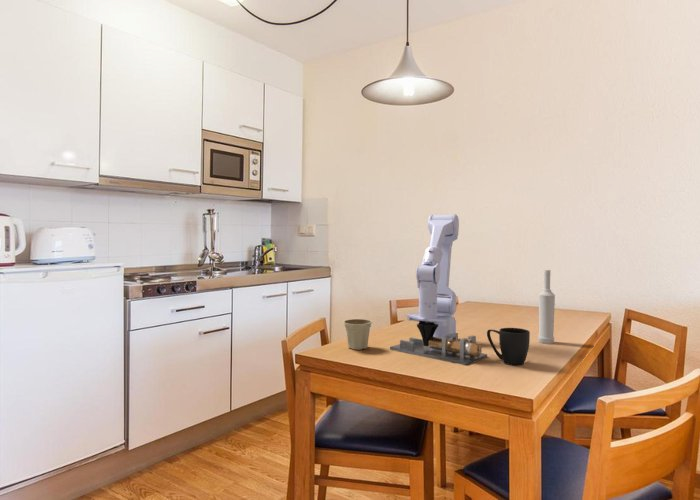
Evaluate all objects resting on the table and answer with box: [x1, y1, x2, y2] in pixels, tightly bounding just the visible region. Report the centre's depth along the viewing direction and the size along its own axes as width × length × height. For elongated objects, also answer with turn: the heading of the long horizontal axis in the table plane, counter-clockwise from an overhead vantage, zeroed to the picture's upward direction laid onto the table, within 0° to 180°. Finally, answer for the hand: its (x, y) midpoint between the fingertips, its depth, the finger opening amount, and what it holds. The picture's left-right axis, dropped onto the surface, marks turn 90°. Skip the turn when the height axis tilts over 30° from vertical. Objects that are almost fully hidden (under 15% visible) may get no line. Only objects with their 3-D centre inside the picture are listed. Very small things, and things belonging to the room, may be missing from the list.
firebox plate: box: [389, 336, 488, 366], centre depth 145 cm, size 13×27×3 cm, turn 48°
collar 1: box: [442, 332, 459, 355], centre depth 142 cm, size 7×1×6 cm, turn 138°
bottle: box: [537, 269, 556, 345], centre depth 161 cm, size 5×5×25 cm
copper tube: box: [429, 337, 482, 357], centre depth 141 cm, size 16×4×4 cm, turn 48°
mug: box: [486, 327, 531, 367], centre depth 135 cm, size 8×12×10 cm
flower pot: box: [342, 318, 373, 351], centre depth 152 cm, size 9×9×9 cm
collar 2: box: [459, 335, 477, 359], centre depth 138 cm, size 7×1×6 cm, turn 138°
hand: (427, 345), depth 148 cm, fingers closed
